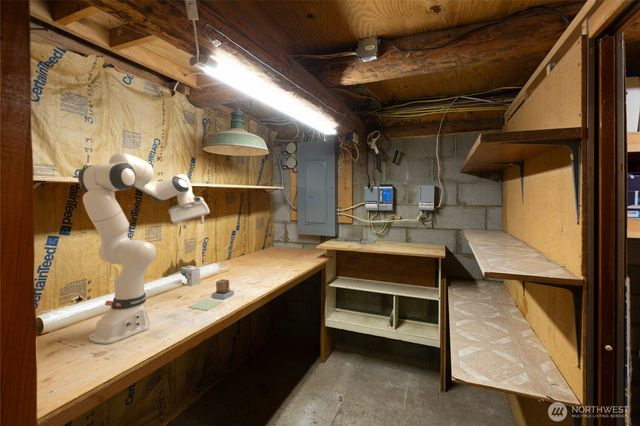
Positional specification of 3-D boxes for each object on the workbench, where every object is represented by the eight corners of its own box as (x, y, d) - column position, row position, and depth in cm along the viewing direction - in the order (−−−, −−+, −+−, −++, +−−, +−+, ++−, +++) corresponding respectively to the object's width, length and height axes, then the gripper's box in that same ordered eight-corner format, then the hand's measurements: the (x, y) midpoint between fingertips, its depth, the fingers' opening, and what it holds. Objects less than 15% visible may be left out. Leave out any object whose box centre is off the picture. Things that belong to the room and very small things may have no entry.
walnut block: (223, 298, 169) (223, 282, 169) (216, 297, 171) (216, 281, 171) (229, 295, 174) (229, 280, 173) (222, 294, 176) (221, 279, 175)
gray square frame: (224, 299, 167) (224, 295, 167) (211, 297, 170) (211, 293, 170) (234, 294, 175) (233, 290, 175) (221, 292, 178) (221, 288, 178)
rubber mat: (206, 310, 152) (206, 309, 152) (188, 307, 156) (188, 306, 156) (222, 302, 163) (222, 301, 163) (204, 299, 167) (204, 298, 167)
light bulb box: (180, 283, 196) (180, 267, 195) (189, 281, 202) (189, 265, 201) (192, 286, 191) (191, 269, 190) (200, 283, 197) (200, 267, 196)
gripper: (166, 206, 164) (172, 230, 161) (204, 196, 168) (211, 219, 166) (169, 209, 170) (175, 232, 168) (206, 199, 174) (213, 221, 172)
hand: (193, 226), depth 167 cm, fingers open, 8 cm apart
